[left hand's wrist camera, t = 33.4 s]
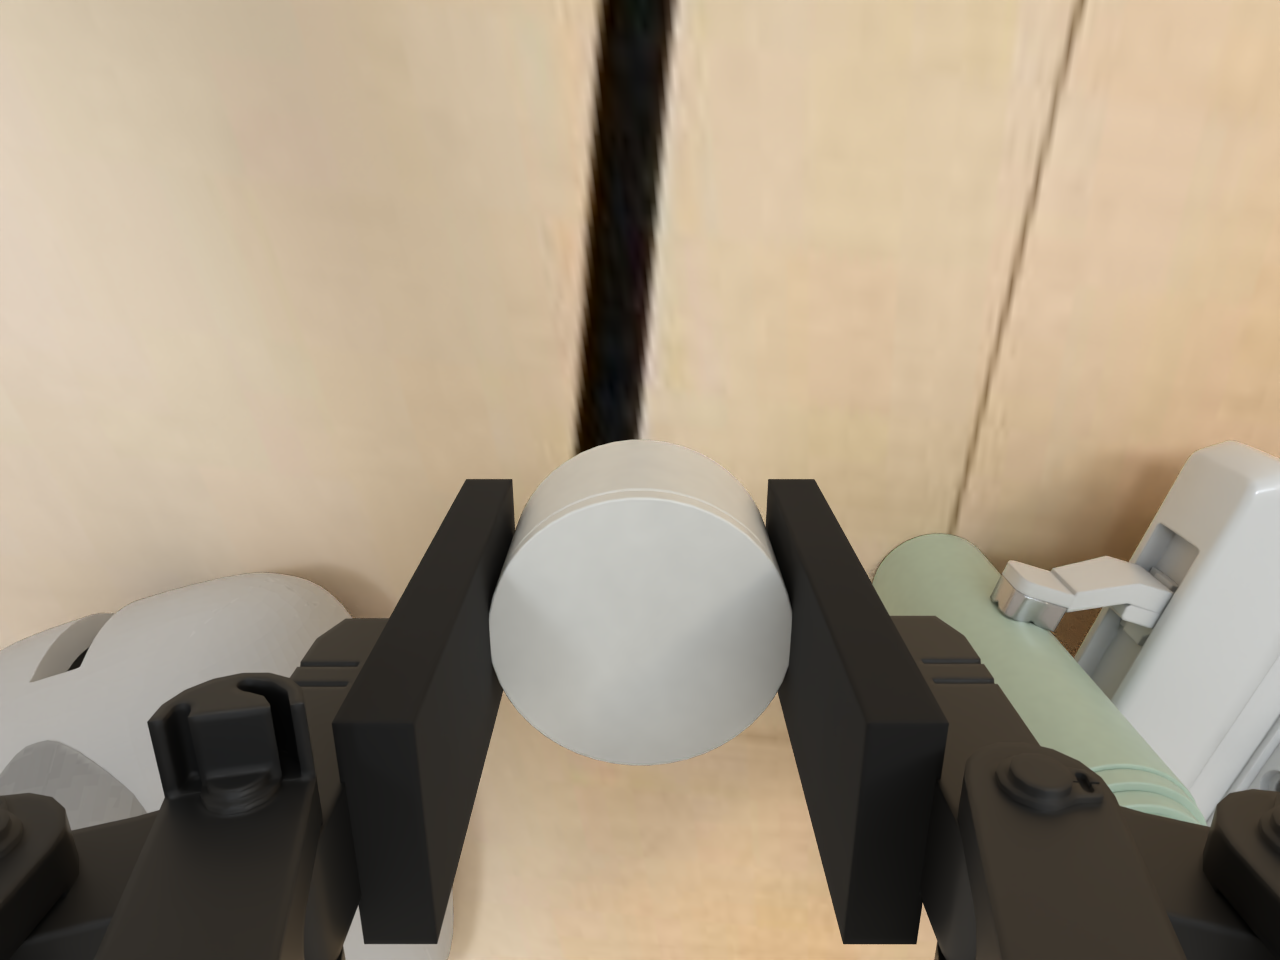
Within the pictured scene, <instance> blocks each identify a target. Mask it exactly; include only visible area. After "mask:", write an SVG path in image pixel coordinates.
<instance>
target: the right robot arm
mask: <svg viewBox="0 0 1280 960" xmlns="http://www.w3.org/2000/svg"><path fill="white" fill-rule="evenodd" d="M990 598H991V600H992V601H993V602H995V603H998V609H999V610H1000V611H1001V612H1002V613H1003V614H1005V615H1006V616H1007V617H1009V618H1011V619H1013V620H1015V621H1019V622H1025V623H1027V622H1031V621H1032V622H1033V623H1034V625H1035V626H1038V627H1040V628H1042V629H1046V630H1049V631H1053V632H1054V631H1055V629H1056V627H1057V626H1058V624H1059V622H1060V621H1061V619H1062V617H1063V616H1064V614H1065V612H1074V611H1080V610H1087V609H1094V608H1100V607H1102V609H1101V611H1100V613H1099V614H1098V616H1097V618H1096V620H1095V621H1094V623H1093V625H1092V627H1091V628H1090V630H1089V632H1088V634H1087V635H1086V637H1085V639H1084V641H1083V642H1082V644H1081V646H1080V647H1079V649H1078V651H1077V653H1076V654H1075V656H1074V659H1075V660H1076V662H1077V663H1078V664H1079V665H1080V666H1081V667H1082V668H1083V670H1084V671H1085V672H1086V673H1087V674H1088V675H1089V676H1090V678H1091V679H1092V680H1093V681H1094V682H1095V683H1096V685H1097V686H1098V687H1099V688H1100V689H1101V690H1102V691H1103V693H1104V694H1105V695H1106V696H1107V697H1108V698H1109V699H1110V701H1111V702H1112V703H1113V704H1114V705H1115V706H1116V708H1117V709H1118V710H1119V711H1120V712H1121V713H1122V714H1123V716H1124V717H1125V718H1126V719H1127V720H1128V721H1129V722H1130V724H1131V725H1132V726H1133V727H1134V728H1135V729H1136V731H1137V732H1138V733H1139V734H1140V735H1141V736H1142V737H1143V739H1144V740H1145V741H1146V742H1147V743H1148V744H1149V745H1150V747H1151V748H1152V749H1153V750H1154V751H1155V752H1156V753H1157V755H1158V756H1159V757H1160V758H1161V759H1162V760H1163V762H1164V763H1165V764H1166V765H1167V766H1168V767H1169V768H1170V770H1171V771H1172V772H1173V773H1174V774H1175V775H1176V776H1177V778H1178V779H1179V780H1180V781H1181V782H1182V783H1183V785H1184V786H1185V787H1186V788H1187V789H1188V790H1189V791H1190V793H1191V795H1192V796H1193V798H1194V799H1195V802H1196V804H1197V807H1198V808H1199V810H1200V811H1201V813H1202V815H1203V816H1204V818H1205V821H1206V823H1207V826H1208V827H1211V823H1212V820H1213V816H1214V813H1215V809H1216V806H1217V804H1218V803H1219V802H1220V801H1221V800H1222V799H1223V798H1225V797H1226V796H1227V795H1228V794H1229V793H1233V792H1238V791H1244V790H1249V789H1258V790H1268V791H1277V792H1280V458H1278V457H1276V456H1273V455H1271V454H1269V453H1267V452H1264V451H1262V450H1259V449H1257V448H1254V447H1252V446H1249V445H1247V444H1244V443H1241V442H1238V441H1234V440H1229V441H1225V442H1221V443H1218V444H1215V445H1212V446H1208V447H1205V448H1202V449H1200V450H1197V451H1195V452H1194V453H1192V454H1191V456H1190V457H1189V458H1188V459H1187V461H1186V463H1185V464H1184V466H1183V468H1182V469H1181V471H1180V473H1179V475H1178V476H1177V478H1176V480H1175V482H1174V483H1173V485H1172V487H1171V489H1170V490H1169V492H1168V494H1167V496H1166V497H1165V499H1164V501H1163V503H1162V504H1161V506H1160V508H1159V510H1158V511H1157V513H1156V515H1155V517H1154V518H1153V520H1152V522H1151V524H1150V525H1149V527H1148V529H1147V531H1146V532H1145V534H1144V536H1143V538H1142V539H1141V541H1140V543H1139V545H1138V546H1137V548H1136V550H1135V552H1134V553H1133V555H1132V557H1131V558H1130V560H1129V562H1127V561H1123V560H1120V559H1116V558H1113V557H1110V556H1103V557H1098V558H1094V559H1090V560H1086V561H1081V562H1077V563H1073V564H1068V565H1064V566H1060V567H1056V568H1052V570H1051V571H1048V570H1045V569H1041V568H1038V567H1035V566H1031V565H1028V564H1024V563H1021V562H1018V561H1013V560H1009V561H1008V563H1007V565H1006V567H1005V569H1004V570H1003V572H1002V575H1001V577H1000V578H999V580H998V582H997V584H996V586H995V588H994V590H993V592H992V594H991V596H990Z"/></svg>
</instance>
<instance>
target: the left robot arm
mask: <svg viewBox="0 0 1280 960" xmlns="http://www.w3.org/2000/svg"><path fill="white" fill-rule="evenodd" d="M766 530H767V533H768V536H769V539H770V542H771V545H772V548H773V551H774V554H775V557H776V560H777V563H778V566H779V569H780V572H781V574H782V577H783V580H784V583H785V586H786V589H787V592H788V595H789V599H790V604H791V608H792V627H791V641H790V655H789V666H788V669H787V672H786V674H785V677H784V680H783V682H782V684H781V686H780V687H779V689H778V695H779V699H780V703H781V706H782V710H783V714H784V718H785V722H786V726H787V730H788V733H789V737H790V741H791V745H792V749H793V753H794V756H795V760H796V764H797V768H798V772H799V776H800V779H801V783H802V787H803V791H804V795H805V799H806V803H807V806H808V810H809V814H810V818H811V822H812V826H813V829H814V833H815V837H816V841H817V845H818V849H819V853H820V856H821V860H822V864H823V868H824V872H825V876H826V879H827V883H828V887H829V891H830V895H831V899H832V903H833V906H834V910H835V914H836V918H837V922H838V926H839V929H840V933H841V937H842V941H843V944H916V943H917V936H918V930H919V923H920V916H921V909H922V903H923V904H924V907H925V909H926V912H927V915H928V917H929V920H930V923H931V925H932V928H933V930H934V933H935V936H936V938H937V947H936V953H935V959H934V960H1280V792H1277V791H1268V790H1258V789H1249V790H1244V791H1238V792H1233V793H1229V794H1228V795H1227V796H1226V797H1225V798H1223V799H1222V800H1221V801H1220V802H1219V803H1218V804H1217V806H1216V809H1215V813H1214V816H1213V820H1212V823H1211V827H1208V826H1204V825H1199V824H1194V823H1190V822H1185V821H1180V820H1176V819H1171V818H1167V817H1162V816H1157V815H1153V814H1148V813H1144V812H1140V811H1137V810H1133V809H1130V808H1126V807H1123V806H1120V805H1119V803H1118V801H1117V799H1116V797H1115V795H1114V794H1113V792H1112V791H1111V790H1110V788H1109V787H1108V786H1107V784H1106V783H1105V781H1104V780H1103V779H1102V777H1100V776H1099V775H1098V774H1096V773H1095V772H1094V771H1092V770H1091V769H1089V768H1088V767H1087V766H1085V765H1084V764H1083V763H1081V762H1080V761H1078V760H1076V759H1074V758H1072V757H1069V756H1067V755H1065V754H1063V753H1060V752H1058V751H1056V750H1054V749H1051V748H1046V747H1042V746H1040V745H1039V743H1038V742H1037V740H1036V739H1035V737H1034V736H1033V734H1032V733H1031V732H1030V730H1029V729H1028V727H1027V726H1026V724H1025V723H1024V721H1023V720H1022V718H1021V717H1020V716H1019V714H1018V713H1017V711H1016V710H1015V708H1014V707H1013V705H1012V704H1011V702H1010V701H1009V700H1008V698H1007V697H1006V695H1005V694H1004V692H1003V691H1002V689H1001V688H1000V686H999V685H998V684H995V683H994V678H993V676H992V675H991V673H990V672H989V670H988V669H987V668H986V666H985V665H984V664H981V659H980V657H979V656H978V654H977V653H976V652H975V650H974V649H973V647H972V646H971V644H970V643H969V641H968V640H967V639H966V637H965V636H964V635H963V634H961V633H960V632H958V631H957V630H955V629H954V628H953V627H951V626H950V625H948V624H947V623H945V622H944V621H942V620H941V619H939V618H938V617H936V616H890V615H889V614H888V612H887V610H886V608H885V606H884V604H883V603H882V601H881V599H880V597H879V595H878V594H877V592H876V590H875V588H874V586H873V585H872V583H871V581H870V579H869V577H868V576H867V574H866V572H865V570H864V568H863V566H862V565H861V563H860V561H859V559H858V557H857V556H856V554H855V552H854V550H853V548H852V547H851V545H850V543H849V541H848V539H847V537H846V536H845V534H844V532H843V530H842V528H841V527H840V525H839V523H838V521H837V519H836V518H835V516H834V514H833V512H832V510H831V509H830V507H829V505H828V503H827V501H826V499H825V498H824V496H823V494H822V492H821V490H820V489H819V487H818V485H817V483H816V481H815V480H814V479H768V495H767V513H766ZM514 533H515V522H514V503H513V485H512V479H466V481H465V482H464V484H463V486H462V488H461V490H460V491H459V493H458V495H457V497H456V499H455V501H454V502H453V504H452V506H451V508H450V510H449V511H448V513H447V515H446V517H445V519H444V520H443V522H442V524H441V526H440V528H439V529H438V531H437V533H436V535H435V537H434V539H433V540H432V542H431V544H430V546H429V548H428V549H427V551H426V553H425V555H424V557H423V558H422V560H421V562H420V564H419V566H418V568H417V569H416V571H415V573H414V575H413V577H412V578H411V580H410V582H409V584H408V586H407V587H406V589H405V591H404V593H403V595H402V596H401V598H400V600H399V602H398V604H397V606H396V607H395V609H394V611H393V613H392V615H391V616H390V618H346V619H344V620H343V621H341V622H340V623H338V624H337V625H335V626H334V627H333V628H331V629H330V630H328V631H327V632H325V633H324V634H322V635H321V636H319V637H318V638H317V639H316V640H315V641H314V643H313V644H312V646H311V647H310V649H309V650H308V652H307V653H306V655H305V656H304V657H303V659H302V660H301V662H300V667H297V668H296V669H295V671H294V672H293V674H292V675H291V677H290V678H288V677H284V676H281V675H277V674H273V673H239V674H234V675H229V676H224V677H219V678H214V679H211V680H209V681H206V682H204V683H201V684H199V685H196V686H193V687H191V688H188V689H186V690H184V691H182V692H181V693H179V694H178V695H176V696H175V697H173V698H172V699H170V700H168V701H167V702H165V703H164V704H162V705H161V706H160V707H159V709H158V710H157V711H156V712H155V713H154V714H153V716H152V717H151V718H150V719H149V720H148V721H147V724H148V728H149V733H150V737H151V741H152V745H153V750H154V754H155V758H156V762H157V766H158V771H159V775H160V779H161V783H162V788H163V792H164V796H165V798H164V800H163V803H162V805H161V807H160V810H157V811H154V812H150V813H147V814H143V815H140V816H136V817H131V818H127V819H122V820H118V821H113V822H108V823H104V824H99V825H94V826H90V827H85V828H81V829H76V830H71V827H70V824H69V820H68V817H67V814H66V810H65V808H64V807H63V806H62V805H61V804H60V803H59V802H57V801H56V800H55V799H54V798H53V797H50V796H45V795H39V794H34V793H21V794H12V795H2V796H0V960H346V959H345V953H344V947H343V944H344V942H345V939H346V936H347V934H348V931H349V929H350V926H351V923H352V921H353V918H354V915H355V913H356V910H357V908H358V906H359V912H360V919H361V926H362V933H363V939H364V944H437V943H438V939H439V936H440V932H441V928H442V924H443V920H444V916H445V912H446V909H447V905H448V901H449V897H450V893H451V889H452V885H453V882H454V878H455V874H456V870H457V866H458V862H459V859H460V855H461V851H462V847H463V843H464V839H465V835H466V832H467V828H468V824H469V820H470V816H471V812H472V809H473V805H474V801H475V797H476V793H477V789H478V785H479V782H480V778H481V774H482V770H483V766H484V762H485V759H486V755H487V751H488V747H489V743H490V739H491V735H492V732H493V728H494V724H495V720H496V716H497V712H498V708H499V705H500V701H501V697H502V693H503V688H502V686H501V684H500V683H499V680H498V678H497V675H496V673H495V670H494V667H493V665H492V658H491V646H490V631H489V610H490V606H491V601H492V597H493V594H494V591H495V588H496V585H497V582H498V579H499V576H500V573H501V570H502V568H503V565H504V562H505V559H506V556H507V553H508V550H509V547H510V544H511V542H512V539H513V536H514Z"/></svg>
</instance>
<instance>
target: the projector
mask: <svg viewBox="0 0 1280 960" xmlns="http://www.w3.org/2000/svg"><path fill="white" fill-rule="evenodd" d="M346 618H352V617H351V615H350V614H349V613H348V612H347V610H346V609H345V608H344V606H343V605H342V604H341V603H340V602H339V601H338V600H337V599H336V598H335V597H334V596H333V595H332V594H330V593H329V592H328V591H326V590H325V589H324V588H322V587H321V586H319V585H317V584H315V583H313V582H311V581H309V580H306V579H303V578H299V577H296V576H291V575H284V574H277V573H248V574H240V575H235V576H229V577H223V578H218V579H214V580H210V581H205V582H201V583H197V584H193V585H189V586H185V587H182V588H178V589H174V590H171V591H167V592H163V593H160V594H157V595H154V596H150V597H147V598H144V599H140V600H137V601H135V602H132V603H130V604H128V605H126V606H125V607H123V608H122V609H120V610H119V611H118V612H116V613H98V614H93V615H90V616H86V617H83V618H80V619H77V620H74V621H71V622H68V623H65V624H62V625H59V626H56V627H54V628H51V629H48V630H45V631H42V632H40V633H37V634H35V635H32V636H30V637H27V638H25V639H23V640H20V641H18V642H16V643H14V644H12V645H10V646H8V647H6V648H4V649H2V650H0V796H2V795H12V794H21V793H34V794H39V795H45V796H50V797H53V798H54V799H55V800H56V801H57V802H59V803H60V804H61V805H62V806H63V807H64V808H65V810H66V814H67V817H68V820H69V824H70V827H71V830H76V829H81V828H85V827H90V826H94V825H99V824H104V823H108V822H113V821H118V820H122V819H127V818H131V817H136V816H140V815H143V814H147V813H150V812H154V811H157V810H160V807H161V805H162V803H163V800H164V798H165V796H164V792H163V788H162V783H161V779H160V775H159V771H158V766H157V762H156V758H155V754H154V750H153V745H152V741H151V737H150V733H149V728H148V724H147V721H148V720H149V719H150V718H151V717H152V716H153V714H154V713H155V712H156V711H157V710H158V709H159V707H160V706H161V705H162V704H164V703H165V702H167V701H168V700H170V699H172V698H173V697H175V696H176V695H178V694H179V693H181V692H182V691H184V690H186V689H188V688H191V687H193V686H196V685H199V684H201V683H204V682H206V681H209V680H211V679H214V678H219V677H224V676H229V675H234V674H239V673H273V674H277V675H281V676H284V677H288V678H290V677H291V675H292V674H293V672H294V671H295V669H296V668H297V667H300V662H301V660H302V659H303V657H304V656H305V655H306V653H307V652H308V650H309V649H310V647H311V646H312V644H313V643H314V641H315V640H316V639H317V638H318V637H319V636H321V635H322V634H324V633H325V632H327V631H328V630H330V629H331V628H333V627H334V626H335V625H337V624H338V623H340V622H341V621H343V620H344V619H346ZM453 922H454V912H453V890H452V889H451V893H450V897H449V901H448V905H447V909H446V912H445V916H444V920H443V924H442V928H441V932H440V936H439V939H438V943H437V944H364V939H363V933H362V926H361V919H360V912H359V906H358V908H357V910H356V913H355V915H354V918H353V921H352V923H351V926H350V929H349V931H348V934H347V936H346V939H345V942H344V944H343V947H344V953H345V959H346V960H448V957H449V954H450V949H451V943H452V937H453Z"/></svg>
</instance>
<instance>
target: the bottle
mask: <svg viewBox="0 0 1280 960" xmlns="http://www.w3.org/2000/svg"><path fill="white" fill-rule="evenodd" d="M1000 577H1001V574H1000V573H999V572H998V571H997V570H996V568H995V567H994V566H993V565H992V564H991V563H990V562H989V560H988V559H987V558H986V557H985V556H984V555H983V554H982V552H981V551H980V550H979V549H978V548H977V547H976V546H974V545H973V544H972V543H970V542H969V541H967V540H965V539H963V538H960V537H957V536H954V535H949V534H927V535H923V536H919V537H916V538H913V539H910V540H908V541H906V542H904V543H903V544H901V545H899V546H898V547H896V548H895V549H894V550H893V551H891V552H890V553H889V554H888V555H887V556H886V558H885V559H884V560H883V561H882V563H881V564H880V566H879V568H878V569H877V572H876V574H875V576H874V580H873V583H872V585H873V586H874V588H875V590H876V592H877V594H878V595H879V597H880V599H881V601H882V603H883V604H884V606H885V608H886V610H887V612H888V614H889V615H890V616H936V617H938V618H939V619H941V620H942V621H944V622H945V623H947V624H948V625H950V626H951V627H953V628H954V629H955V630H957V631H958V632H960V633H961V634H963V635H964V636H965V637H966V639H967V640H968V641H969V643H970V644H971V646H972V647H973V649H974V650H975V652H976V653H977V654H978V656H979V657H980V659H981V664H984V665H985V666H986V668H987V669H988V670H989V672H990V673H991V675H992V676H993V678H994V683H995V684H998V685H999V686H1000V688H1001V689H1002V691H1003V692H1004V694H1005V695H1006V697H1007V698H1008V700H1009V701H1010V702H1011V704H1012V705H1013V707H1014V708H1015V710H1016V711H1017V713H1018V714H1019V716H1020V717H1021V718H1022V720H1023V721H1024V723H1025V724H1026V726H1027V727H1028V729H1029V730H1030V732H1031V733H1032V734H1033V736H1034V737H1035V739H1036V740H1037V742H1038V743H1039V745H1040V746H1042V747H1046V748H1051V749H1054V750H1056V751H1058V752H1060V753H1063V754H1065V755H1067V756H1069V757H1072V758H1074V759H1076V760H1078V761H1080V762H1081V763H1083V764H1084V765H1085V766H1087V767H1088V768H1089V769H1091V770H1092V771H1094V772H1095V773H1096V774H1098V775H1099V776H1100V777H1102V779H1103V780H1104V781H1105V783H1106V784H1107V786H1108V787H1109V788H1110V790H1111V791H1112V792H1113V794H1114V795H1115V797H1116V799H1117V801H1118V803H1119V805H1120V806H1123V807H1126V808H1130V809H1133V810H1137V811H1140V812H1144V813H1148V814H1153V815H1157V816H1162V817H1167V818H1171V819H1176V820H1180V821H1185V822H1190V823H1194V824H1199V825H1204V826H1207V823H1206V821H1205V818H1204V816H1203V815H1202V813H1201V811H1200V810H1199V808H1198V807H1197V804H1196V802H1195V799H1194V798H1193V796H1192V795H1191V793H1190V791H1189V790H1188V789H1187V788H1186V787H1185V786H1184V785H1183V783H1182V782H1181V781H1180V780H1179V779H1178V778H1177V776H1176V775H1175V774H1174V773H1173V772H1172V771H1171V770H1170V768H1169V767H1168V766H1167V765H1166V764H1165V763H1164V762H1163V760H1162V759H1161V758H1160V757H1159V756H1158V755H1157V753H1156V752H1155V751H1154V750H1153V749H1152V748H1151V747H1150V745H1149V744H1148V743H1147V742H1146V741H1145V740H1144V739H1143V737H1142V736H1141V735H1140V734H1139V733H1138V732H1137V731H1136V729H1135V728H1134V727H1133V726H1132V725H1131V724H1130V722H1129V721H1128V720H1127V719H1126V718H1125V717H1124V716H1123V714H1122V713H1121V712H1120V711H1119V710H1118V709H1117V708H1116V706H1115V705H1114V704H1113V703H1112V702H1111V701H1110V699H1109V698H1108V697H1107V696H1106V695H1105V694H1104V693H1103V691H1102V690H1101V689H1100V688H1099V687H1098V686H1097V685H1096V683H1095V682H1094V681H1093V680H1092V679H1091V678H1090V676H1089V675H1088V674H1087V673H1086V672H1085V671H1084V670H1083V668H1082V667H1081V666H1080V665H1079V664H1078V663H1077V662H1076V660H1075V659H1074V658H1073V657H1072V656H1071V655H1070V654H1069V652H1068V651H1067V650H1066V649H1065V648H1064V647H1063V645H1062V644H1061V643H1060V642H1059V641H1058V640H1057V639H1056V637H1055V636H1054V635H1053V634H1052V633H1051V632H1050V631H1049V630H1046V629H1042V628H1040V627H1038V626H1035V625H1034V623H1033V622H1032V621H1031V622H1027V623H1025V622H1019V621H1015V620H1013V619H1011V618H1009V617H1007V616H1006V615H1005V614H1003V613H1002V612H1001V611H1000V610H999V609H998V603H995V602H993V601H992V600H991V598H990V596H991V594H992V592H993V590H994V588H995V586H996V584H997V582H998V580H999V578H1000Z"/></svg>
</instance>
